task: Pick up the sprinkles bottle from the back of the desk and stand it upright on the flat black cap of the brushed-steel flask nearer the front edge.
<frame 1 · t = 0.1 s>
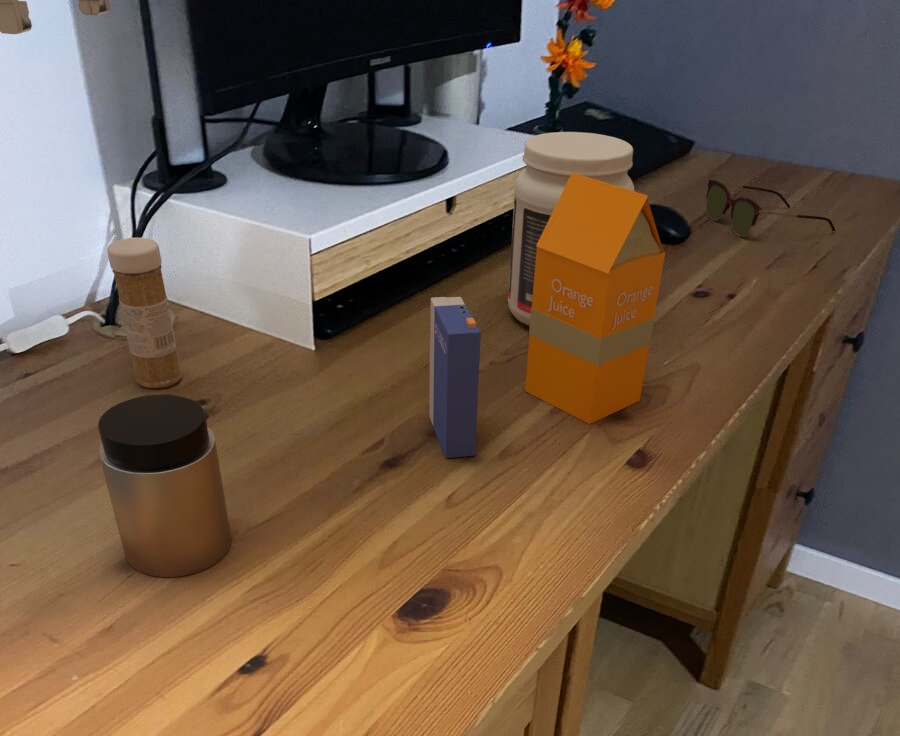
hand: (58, 22, 66), 32 cm above the table, tool pointing down, fingers open, 8 cm apart
sprinkles bottle: (159, 381, 92), on the table
supplement tub: (561, 317, 106), on the table
flask: (178, 545, 70), on the table
walkman: (450, 438, 84), on the table
sunglasses: (768, 224, 134), on the table
orange juice: (581, 397, 91), on the table
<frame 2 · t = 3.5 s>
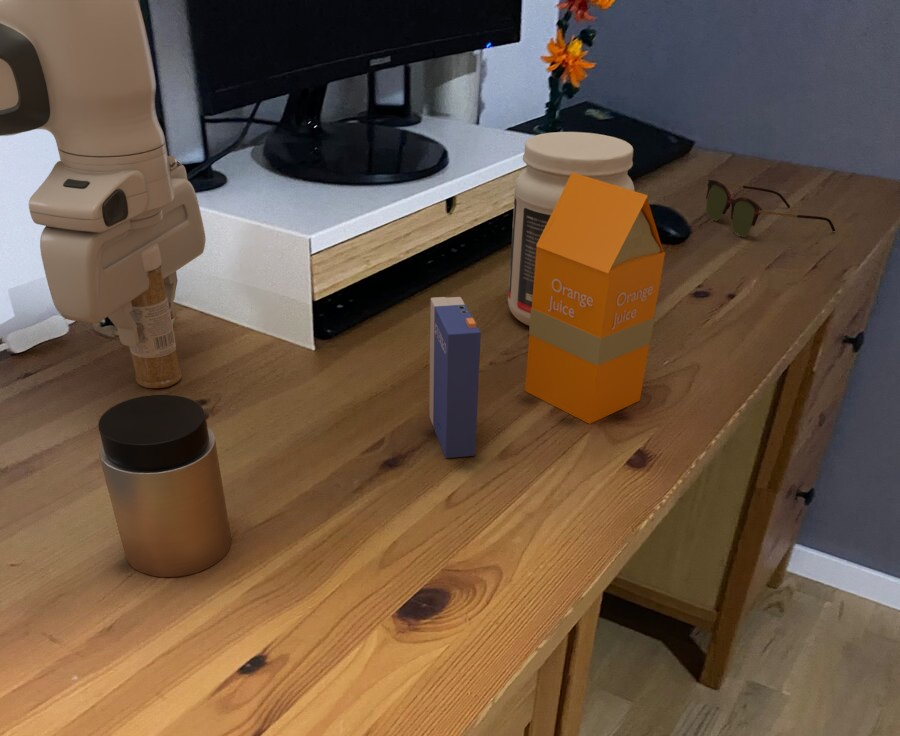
hand: (149, 331, 88), 5 cm above the table, tool pointing down, fingers closed on sprinkles bottle, 4 cm apart
sprinkles bottle: (159, 381, 92), on the table, touching gripper
everything else where it was.
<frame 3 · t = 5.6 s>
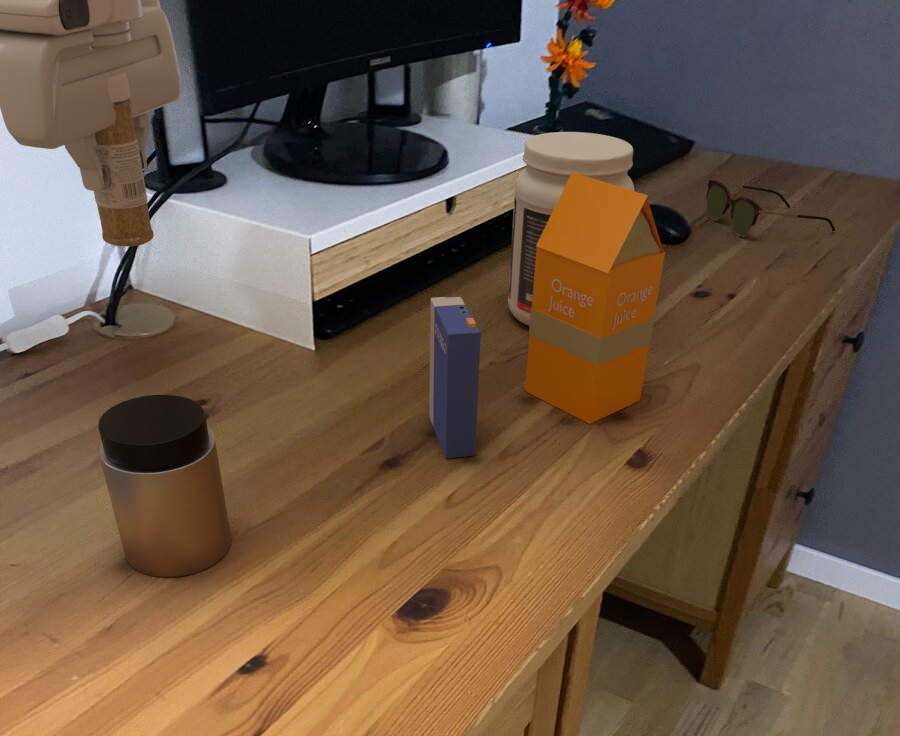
hand: (116, 179, 79), 19 cm above the table, tool pointing down, fingers closed on sprinkles bottle, 4 cm apart
sprinkles bottle: (129, 242, 83), point 14 cm above the table, touching gripper
everything else where it was.
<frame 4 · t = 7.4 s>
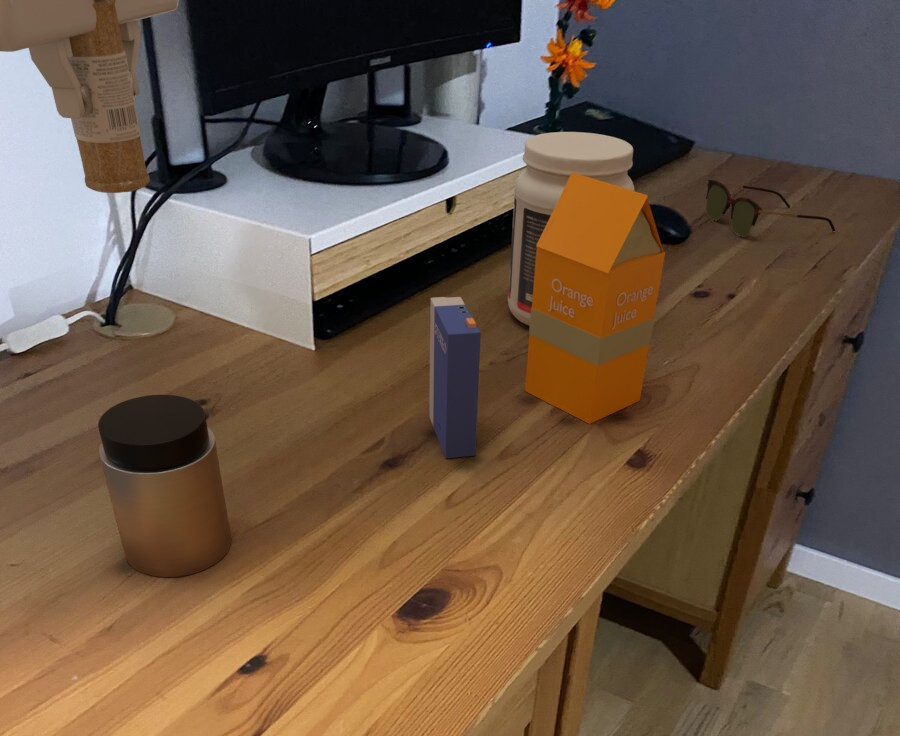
hand: (100, 107, 62), 28 cm above the table, tool pointing down, fingers closed on sprinkles bottle, 4 cm apart
sprinkles bottle: (118, 189, 66), point 22 cm above the table, touching gripper
everything else where it was.
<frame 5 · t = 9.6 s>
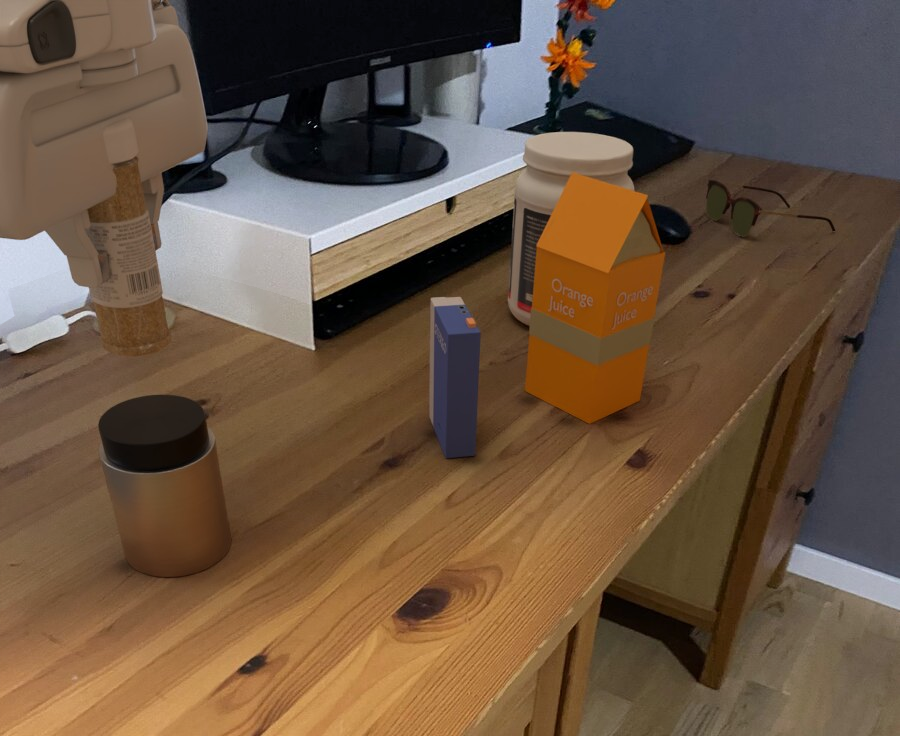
hand: (119, 267, 57), 21 cm above the table, tool pointing down, fingers closed on sprinkles bottle, 4 cm apart
sprinkles bottle: (137, 347, 60), point 16 cm above the table, touching gripper
everything else where it was.
when the fingers open (16 cm above the table, at t = 11.3 s): sprinkles bottle stays where it is, resting on flask.
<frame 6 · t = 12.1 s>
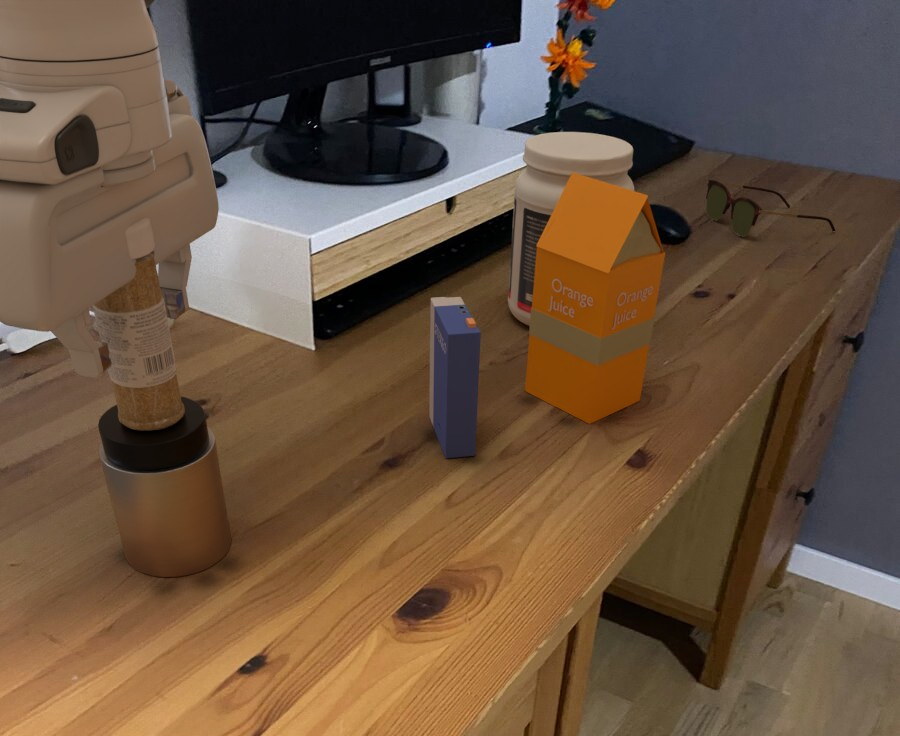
hand: (136, 341, 60), 17 cm above the table, tool pointing down, fingers open, 8 cm apart
sprinkles bottle: (152, 420, 63), point 11 cm above the table, touching flask
flask: (178, 545, 70), on the table, touching sprinkles bottle
everything else where it was.
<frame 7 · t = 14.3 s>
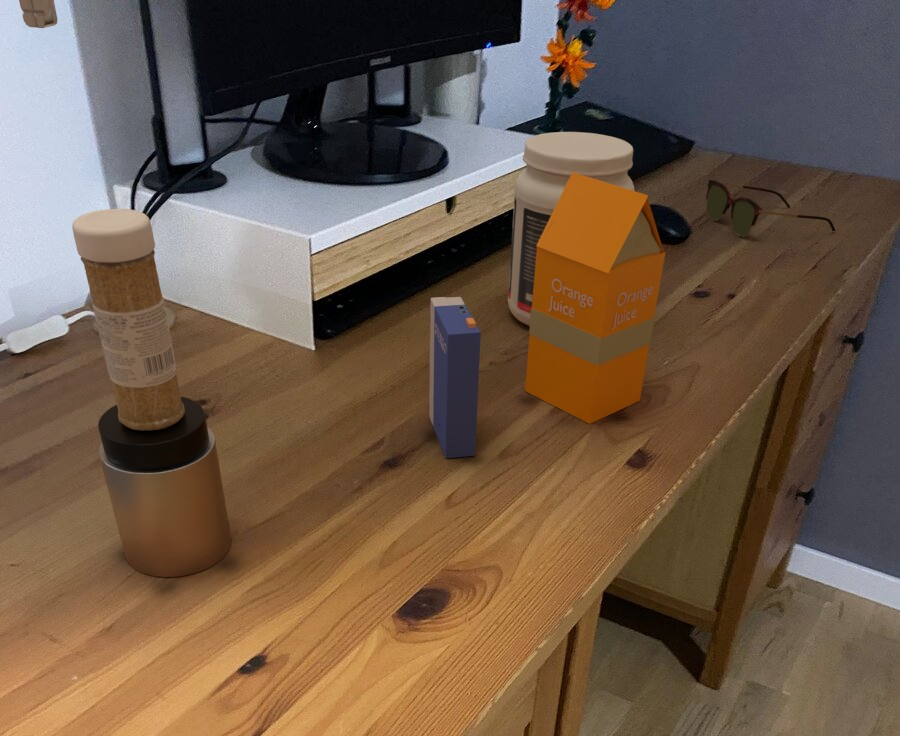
nothing on the table moved.
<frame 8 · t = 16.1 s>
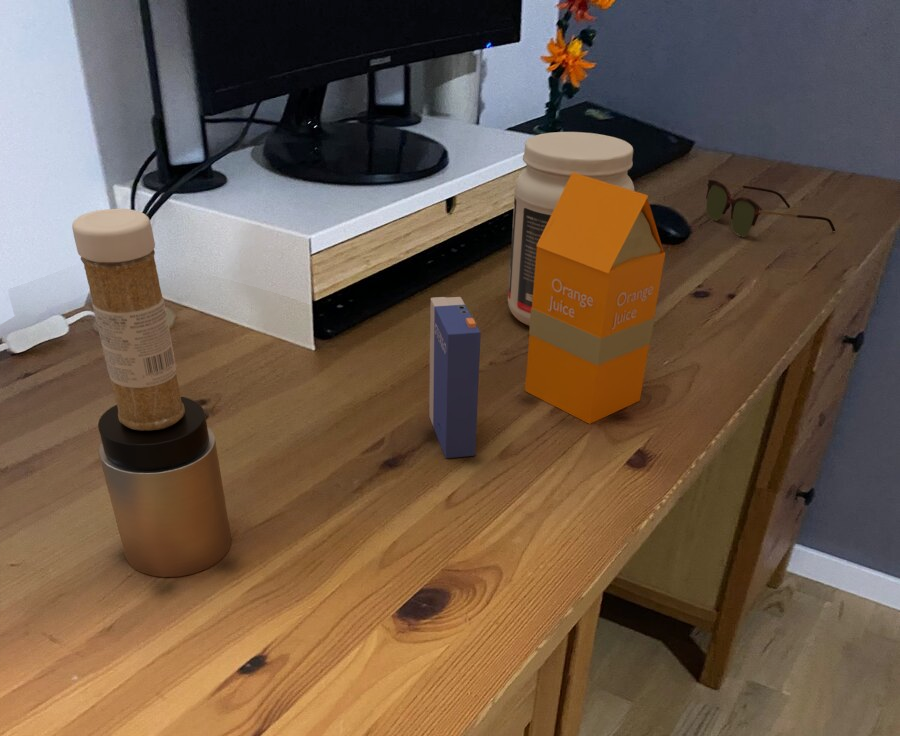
nothing on the table moved.
at the end: sprinkles bottle 0.1 cm off-centre on the flask, point 10.8 cm above the flask's base; sprinkles bottle tilted 0°; flask tilted 0° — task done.
